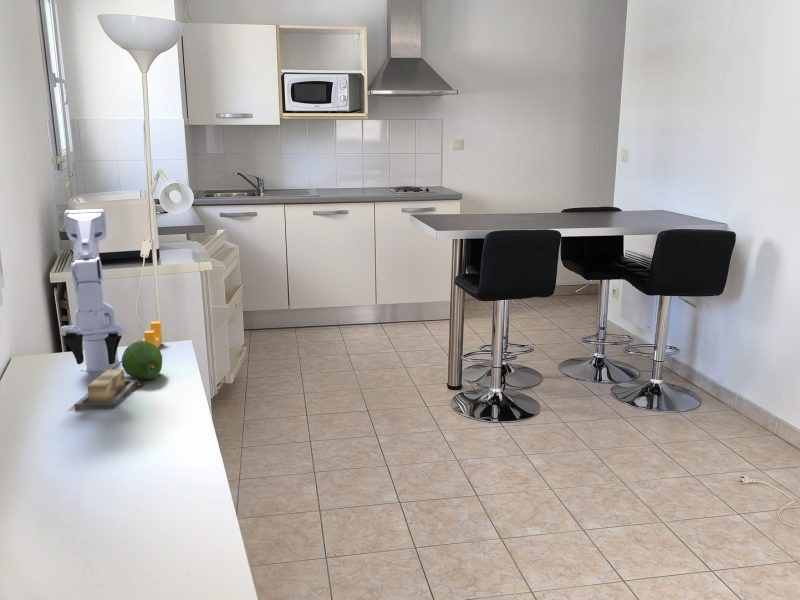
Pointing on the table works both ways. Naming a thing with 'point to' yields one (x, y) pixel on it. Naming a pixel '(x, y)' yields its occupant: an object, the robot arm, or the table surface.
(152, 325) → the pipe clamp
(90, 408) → the channel
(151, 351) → the fruit
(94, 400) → the wooden block
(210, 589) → the table surface
